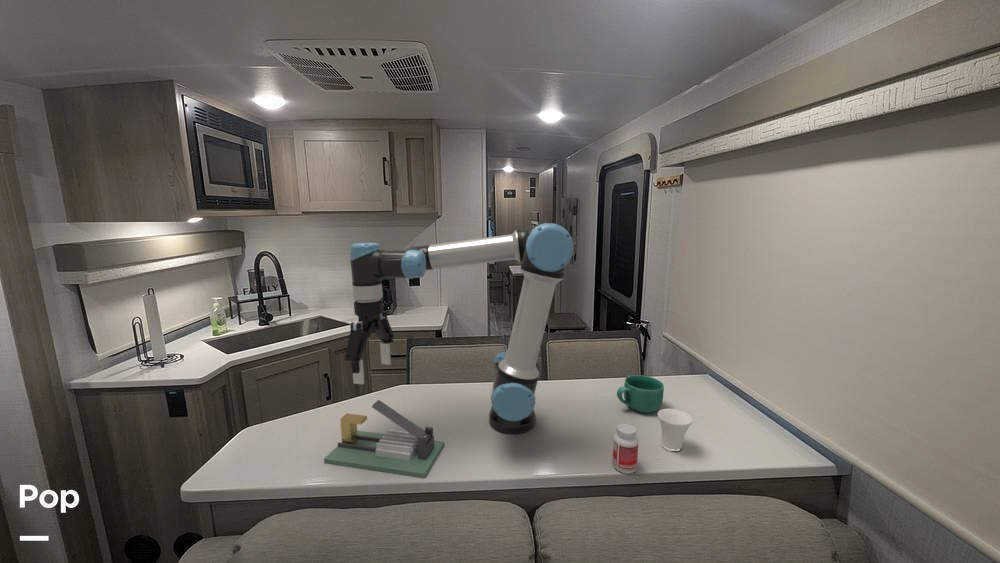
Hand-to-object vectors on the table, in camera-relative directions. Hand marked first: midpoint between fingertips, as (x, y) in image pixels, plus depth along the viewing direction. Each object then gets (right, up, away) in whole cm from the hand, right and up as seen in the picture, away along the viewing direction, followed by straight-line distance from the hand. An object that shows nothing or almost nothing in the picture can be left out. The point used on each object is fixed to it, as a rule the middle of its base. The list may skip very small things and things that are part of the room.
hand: (373, 373), depth 104 cm
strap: (+8, -13, -2) cm, 16 cm away
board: (+4, -22, -1) cm, 23 cm away
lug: (-6, -20, +2) cm, 21 cm away
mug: (+84, -18, +24) cm, 89 cm away
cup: (+85, -22, +2) cm, 88 cm away
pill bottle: (+69, -23, -6) cm, 73 cm away
